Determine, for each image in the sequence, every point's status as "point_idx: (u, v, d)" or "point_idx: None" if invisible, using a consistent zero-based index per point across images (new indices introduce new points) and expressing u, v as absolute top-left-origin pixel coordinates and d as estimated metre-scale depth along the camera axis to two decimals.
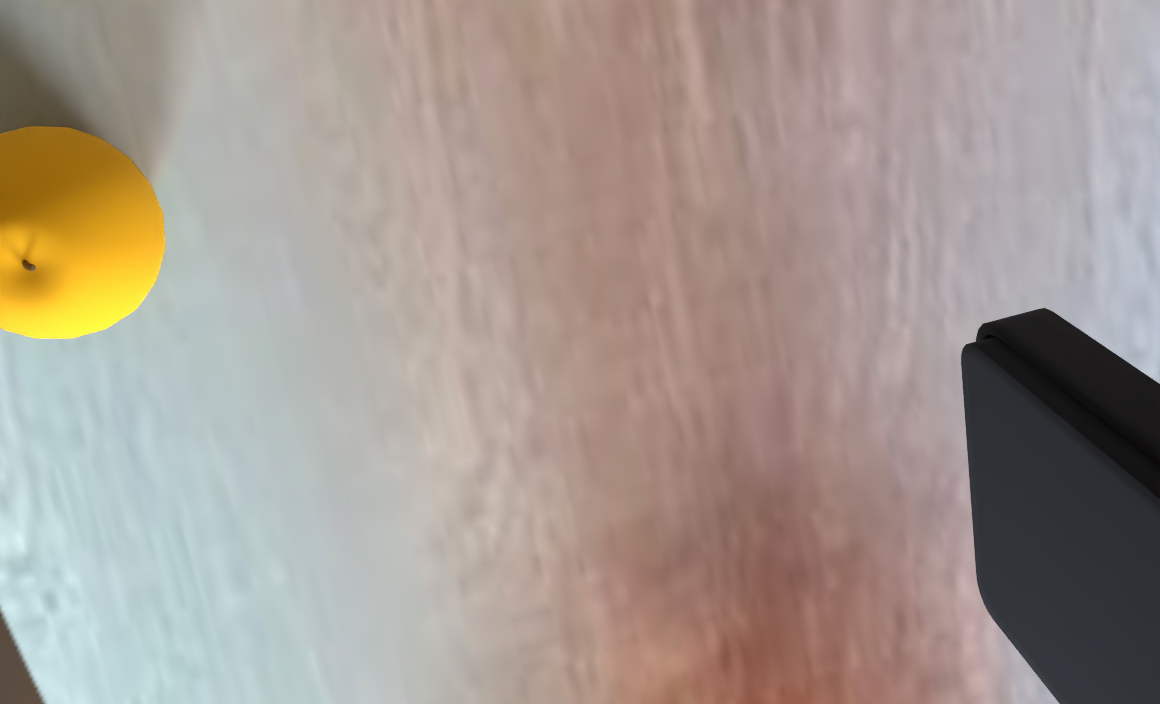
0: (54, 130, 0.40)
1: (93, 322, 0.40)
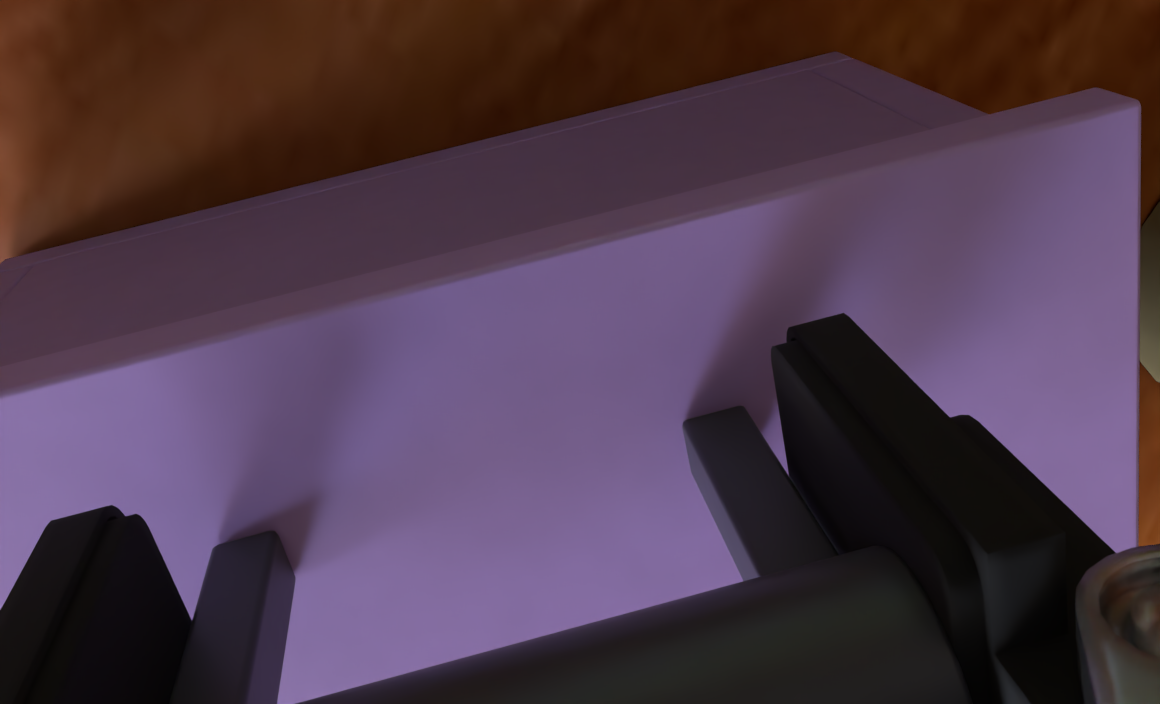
0: None
1: None
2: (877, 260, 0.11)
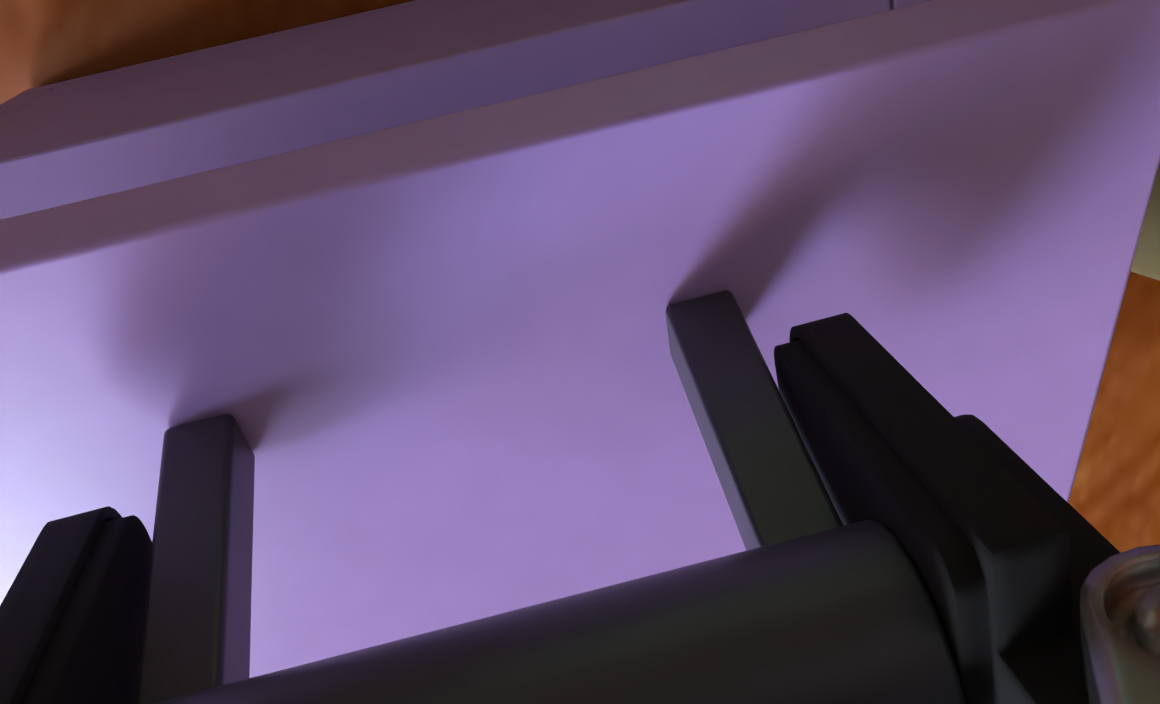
0: None
1: None
2: (892, 148, 0.10)
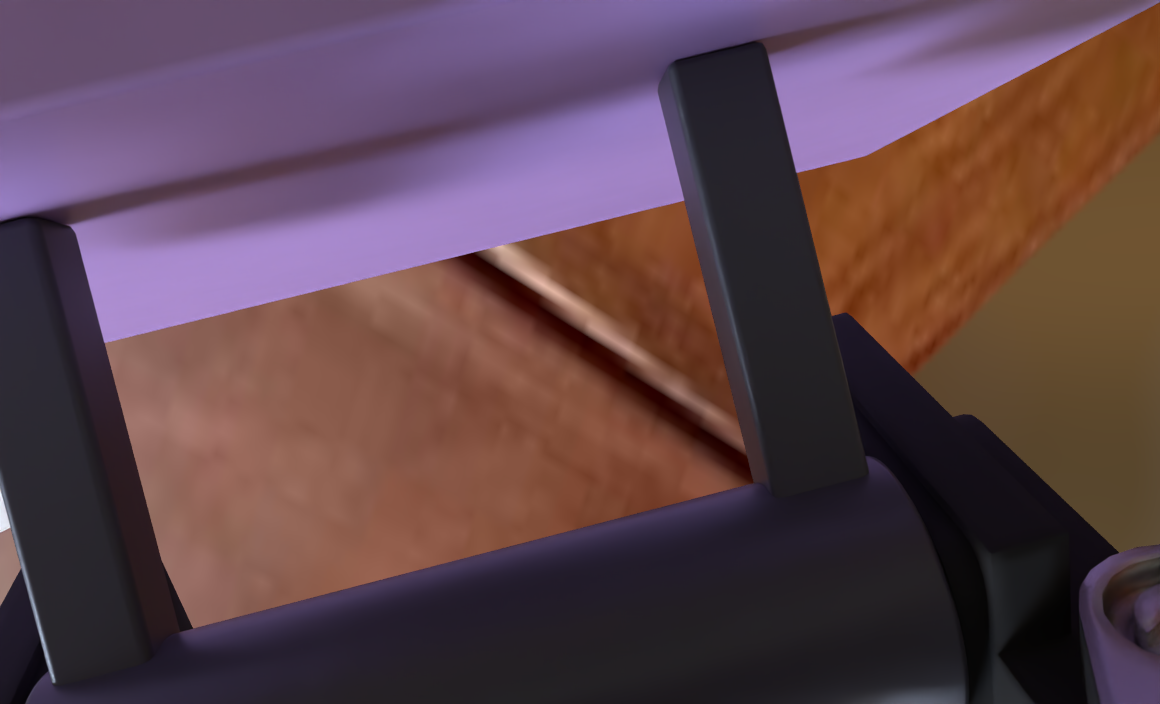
0: None
1: None
2: None
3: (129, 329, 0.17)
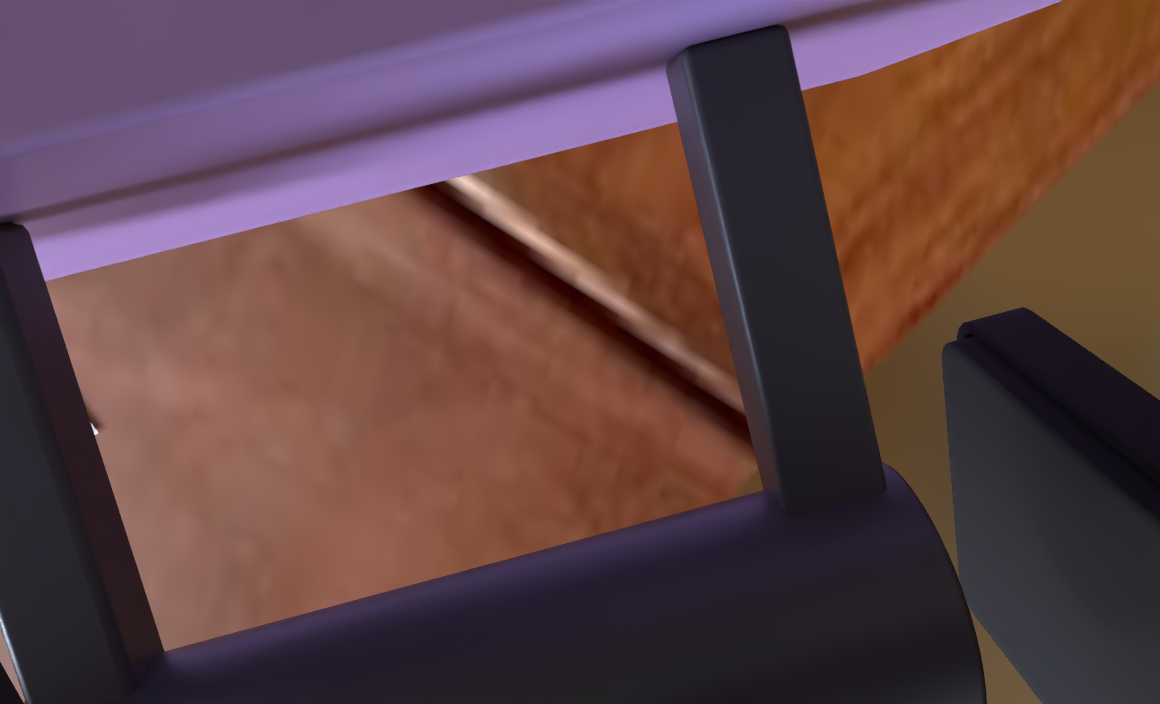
0: None
1: None
2: None
3: (91, 265, 0.16)
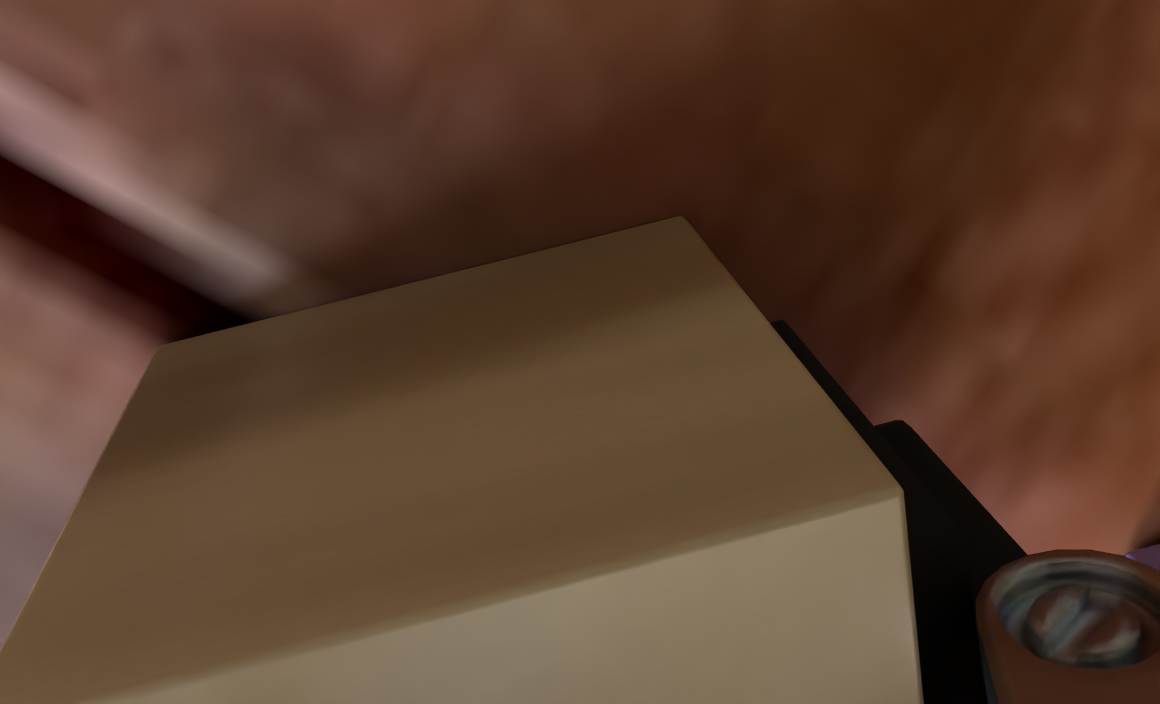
0: None
1: None
2: None
3: None
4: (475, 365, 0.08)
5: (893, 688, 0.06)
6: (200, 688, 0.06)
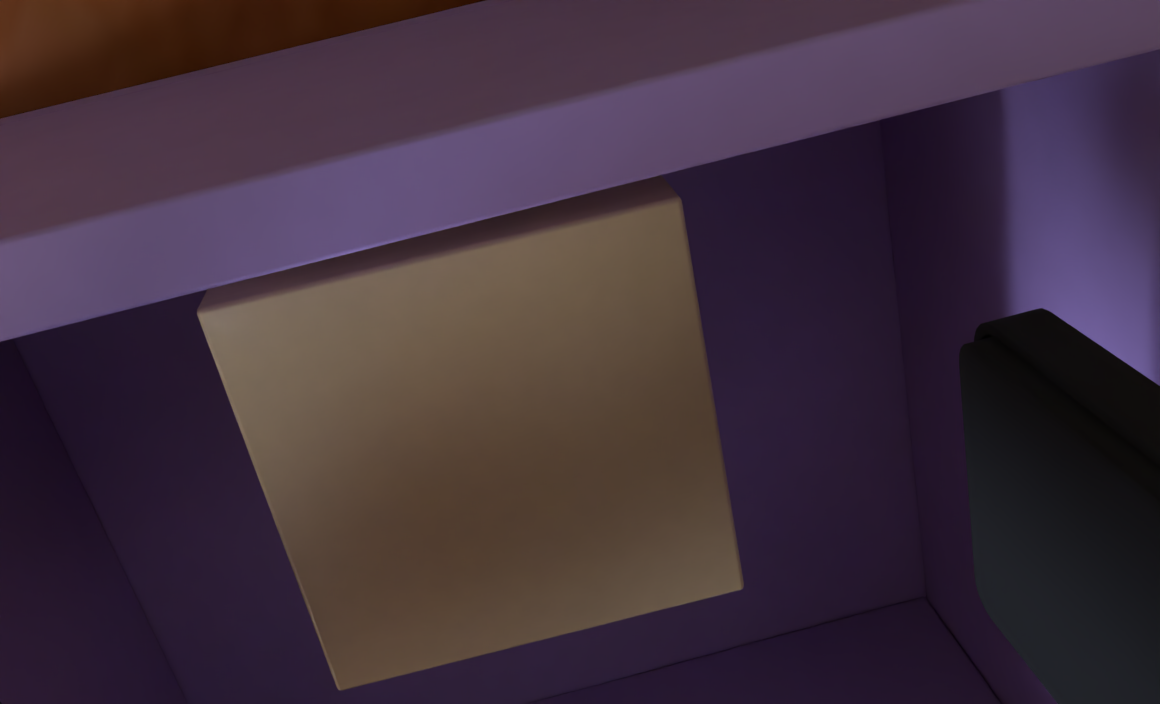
0: None
1: None
2: None
3: None
4: None
5: (683, 317, 0.12)
6: (320, 290, 0.11)
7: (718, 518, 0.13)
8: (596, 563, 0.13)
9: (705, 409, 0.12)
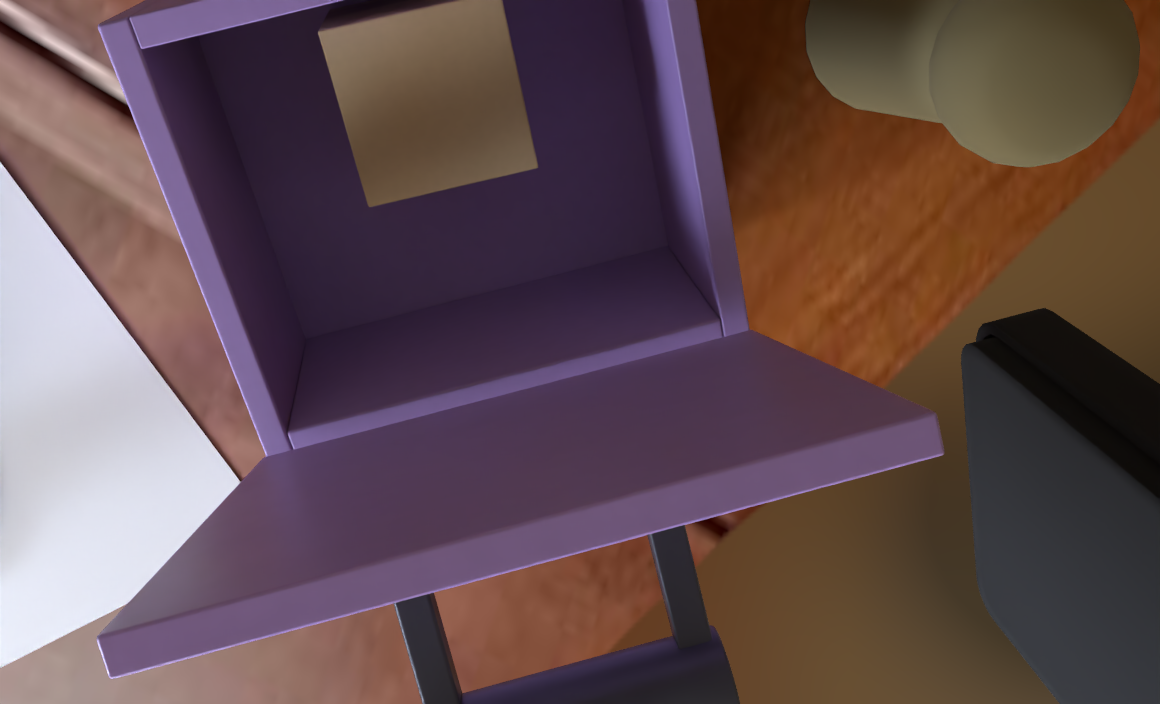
0: None
1: None
2: None
3: None
4: None
5: (504, 40, 0.30)
6: (364, 24, 0.29)
7: (524, 132, 0.31)
8: (474, 151, 0.31)
9: (515, 82, 0.30)
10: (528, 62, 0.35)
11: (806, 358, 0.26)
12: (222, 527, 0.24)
